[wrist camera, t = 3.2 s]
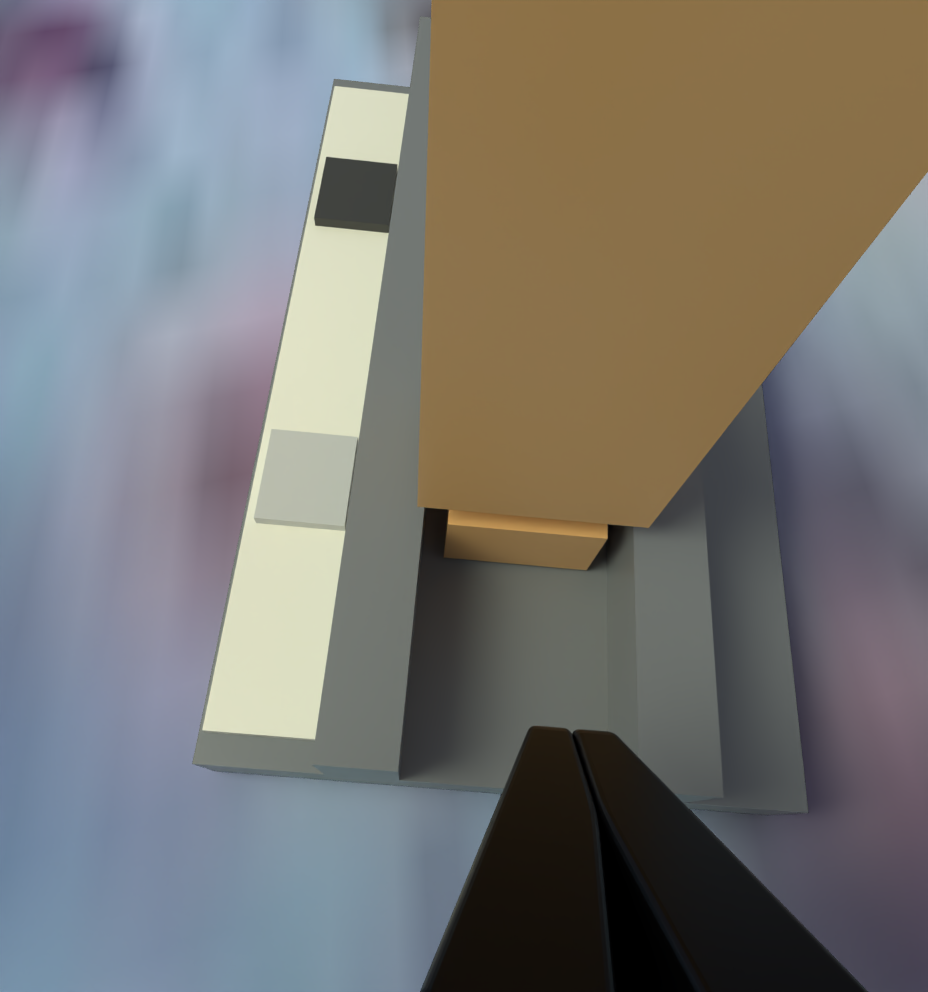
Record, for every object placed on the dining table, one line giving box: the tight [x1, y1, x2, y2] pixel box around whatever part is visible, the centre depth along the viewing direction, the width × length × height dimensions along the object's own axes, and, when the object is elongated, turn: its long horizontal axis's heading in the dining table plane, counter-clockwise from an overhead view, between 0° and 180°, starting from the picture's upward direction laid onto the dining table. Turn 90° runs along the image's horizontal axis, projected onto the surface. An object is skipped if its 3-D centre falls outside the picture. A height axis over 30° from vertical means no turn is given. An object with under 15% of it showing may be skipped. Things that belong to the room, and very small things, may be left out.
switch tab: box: [417, 0, 928, 570], centre depth 9 cm, size 2×4×11 cm, turn 86°
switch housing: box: [192, 17, 808, 815], centre depth 15 cm, size 16×10×3 cm, turn 176°
